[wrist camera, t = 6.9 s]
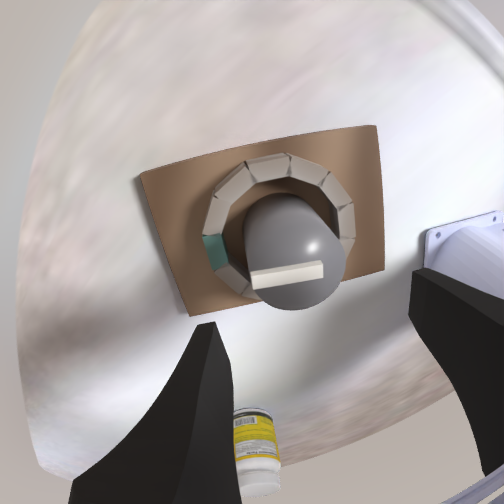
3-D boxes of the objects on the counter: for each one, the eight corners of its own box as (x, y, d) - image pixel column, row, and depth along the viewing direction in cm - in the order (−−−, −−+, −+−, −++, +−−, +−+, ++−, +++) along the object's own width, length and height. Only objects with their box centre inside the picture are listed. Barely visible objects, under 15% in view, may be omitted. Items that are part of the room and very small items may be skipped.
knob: (314, 187, 17) (349, 220, 13) (317, 256, 19) (347, 305, 15) (237, 198, 17) (243, 236, 12) (247, 267, 19) (257, 322, 14)
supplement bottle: (254, 434, 29) (263, 500, 22) (216, 424, 28) (219, 495, 20) (281, 413, 28) (296, 484, 20) (242, 401, 26) (250, 480, 19)
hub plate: (370, 124, 17) (389, 127, 15) (379, 264, 21) (394, 281, 19) (143, 172, 17) (132, 180, 15) (190, 309, 21) (187, 331, 19)
